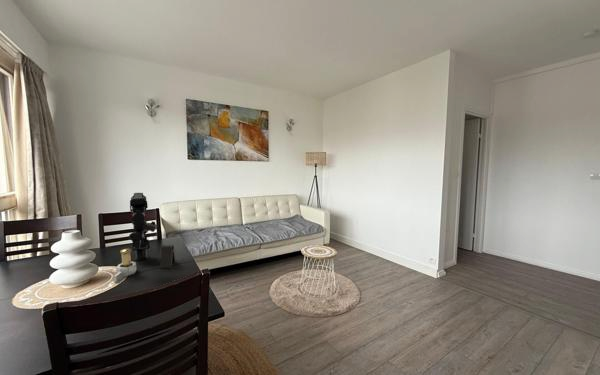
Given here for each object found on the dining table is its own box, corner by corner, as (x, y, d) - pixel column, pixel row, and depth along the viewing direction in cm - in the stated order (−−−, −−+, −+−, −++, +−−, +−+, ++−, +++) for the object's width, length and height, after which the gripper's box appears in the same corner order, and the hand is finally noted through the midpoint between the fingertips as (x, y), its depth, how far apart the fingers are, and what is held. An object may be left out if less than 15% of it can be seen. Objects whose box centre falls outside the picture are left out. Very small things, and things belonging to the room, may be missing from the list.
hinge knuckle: (123, 266, 145) (122, 258, 145) (139, 264, 148) (139, 257, 148) (111, 282, 127) (111, 273, 126) (130, 279, 130) (130, 271, 129)
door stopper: (170, 268, 144) (170, 248, 143) (159, 268, 144) (158, 248, 142) (176, 261, 153) (175, 243, 152) (165, 262, 152) (165, 243, 151)
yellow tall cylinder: (124, 270, 140) (123, 248, 138) (133, 270, 140) (132, 248, 139) (119, 274, 135) (118, 251, 133) (129, 274, 135) (128, 251, 134)
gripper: (152, 222, 135) (153, 249, 137) (158, 215, 153) (159, 239, 154) (128, 223, 131) (129, 252, 133) (136, 216, 149) (138, 241, 150)
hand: (140, 245), depth 143 cm, fingers open, 9 cm apart
